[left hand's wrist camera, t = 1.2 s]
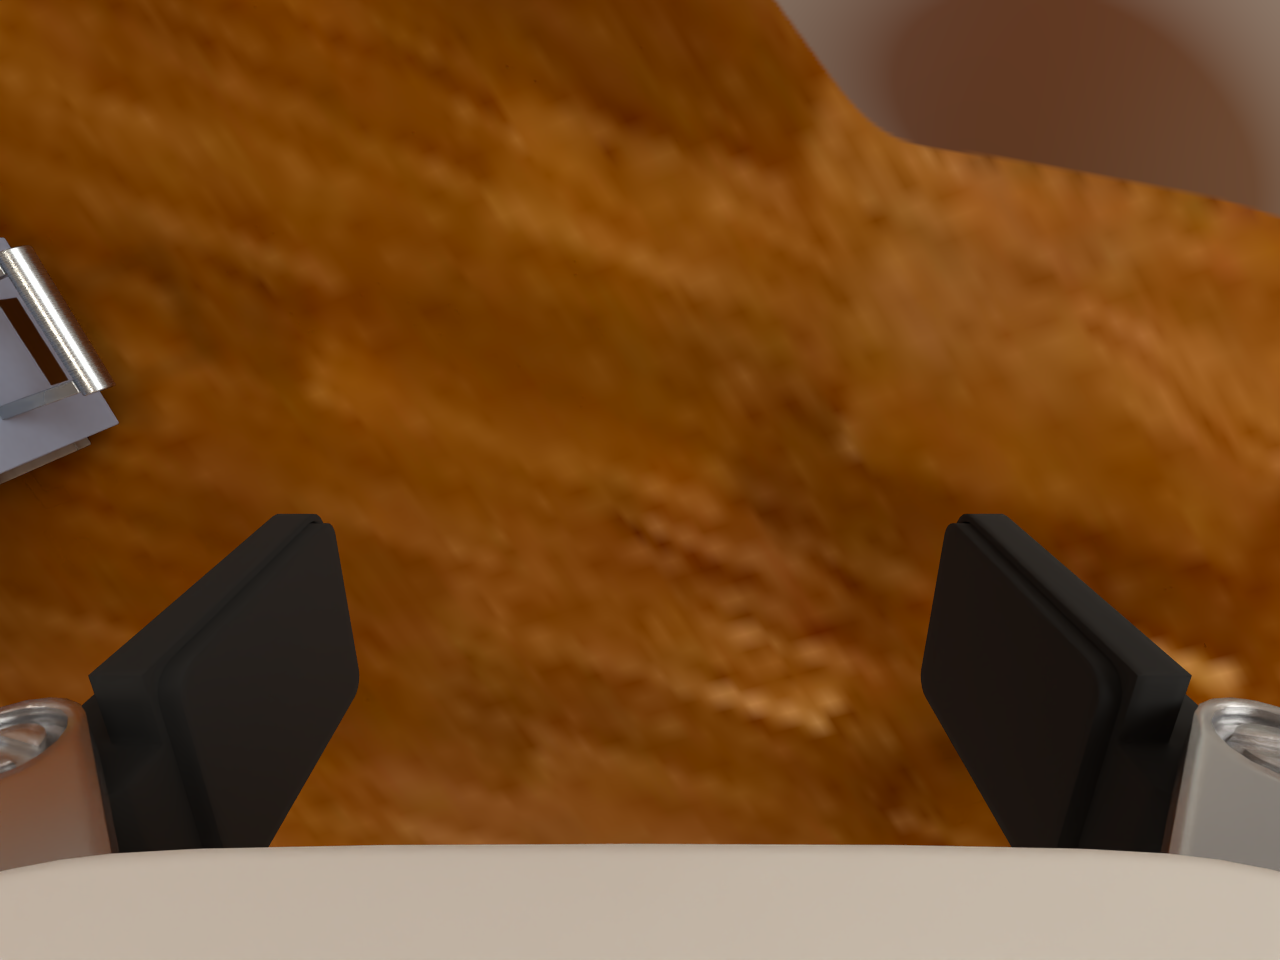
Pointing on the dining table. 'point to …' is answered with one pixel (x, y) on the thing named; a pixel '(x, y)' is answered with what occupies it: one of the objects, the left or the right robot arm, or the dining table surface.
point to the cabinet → (43, 460)
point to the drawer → (43, 366)
